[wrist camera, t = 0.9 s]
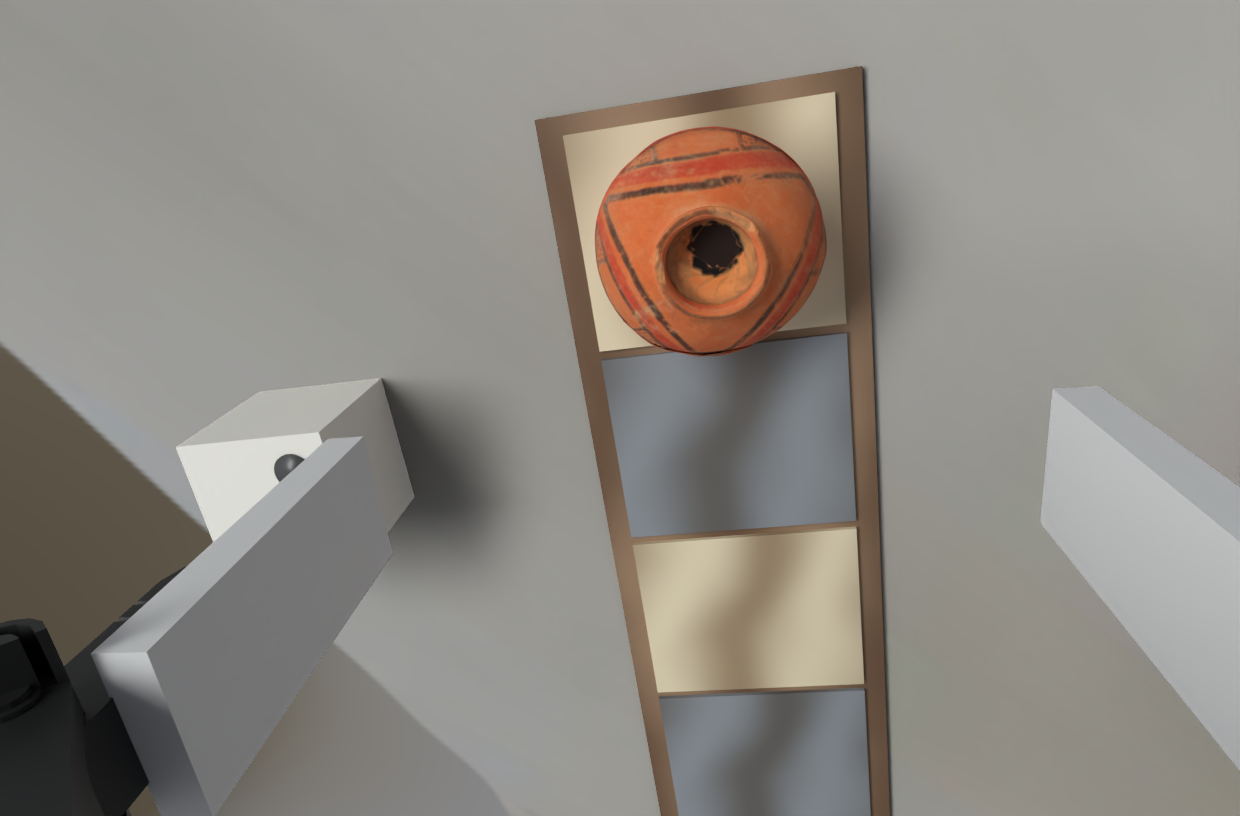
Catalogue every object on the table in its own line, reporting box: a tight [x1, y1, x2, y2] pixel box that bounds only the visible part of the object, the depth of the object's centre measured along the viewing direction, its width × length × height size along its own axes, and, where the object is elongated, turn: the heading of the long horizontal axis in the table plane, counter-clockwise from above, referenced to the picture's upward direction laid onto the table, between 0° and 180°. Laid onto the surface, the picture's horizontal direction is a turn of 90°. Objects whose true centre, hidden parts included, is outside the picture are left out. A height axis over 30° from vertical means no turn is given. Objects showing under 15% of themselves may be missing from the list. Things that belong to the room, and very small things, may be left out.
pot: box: [595, 126, 827, 356], centre depth 27 cm, size 8×8×7 cm
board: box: [535, 66, 890, 816], centre depth 35 cm, size 12×37×1 cm, turn 9°
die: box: [176, 378, 414, 542], centre depth 33 cm, size 6×6×6 cm
